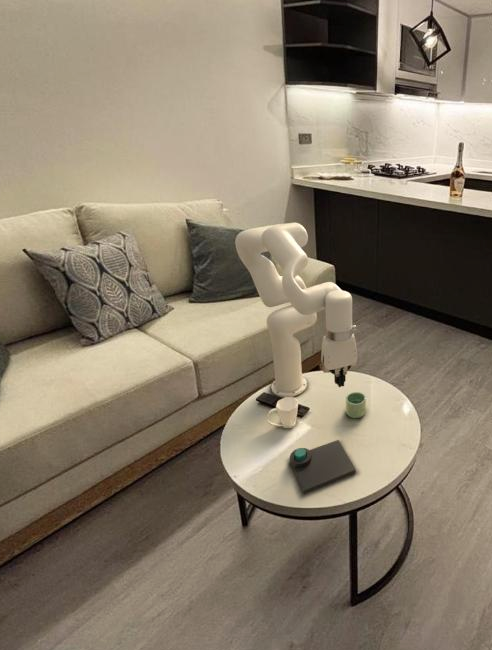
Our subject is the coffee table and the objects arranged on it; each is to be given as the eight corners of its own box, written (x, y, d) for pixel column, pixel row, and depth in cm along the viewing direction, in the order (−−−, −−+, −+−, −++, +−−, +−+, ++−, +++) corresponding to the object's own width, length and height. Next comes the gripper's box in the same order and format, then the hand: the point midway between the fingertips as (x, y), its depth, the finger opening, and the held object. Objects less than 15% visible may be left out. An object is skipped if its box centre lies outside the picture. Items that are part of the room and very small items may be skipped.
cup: (302, 427, 130) (300, 407, 127) (270, 436, 126) (267, 415, 123) (297, 414, 136) (296, 394, 133) (266, 422, 132) (264, 401, 129)
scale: (288, 460, 118) (287, 452, 117) (338, 442, 125) (337, 434, 124) (302, 495, 107) (301, 486, 106) (355, 473, 115) (355, 465, 113)
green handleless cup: (343, 409, 139) (342, 395, 137) (360, 404, 142) (360, 390, 140) (350, 421, 134) (350, 406, 132) (368, 415, 137) (369, 400, 135)
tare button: (293, 454, 116) (293, 450, 116) (304, 451, 118) (303, 447, 117) (297, 462, 114) (296, 457, 114) (307, 458, 116) (307, 454, 115)
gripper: (358, 322, 125) (357, 372, 132) (310, 331, 118) (312, 383, 125) (367, 333, 119) (367, 385, 126) (318, 343, 112) (320, 397, 119)
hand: (340, 384), depth 126 cm, fingers closed
